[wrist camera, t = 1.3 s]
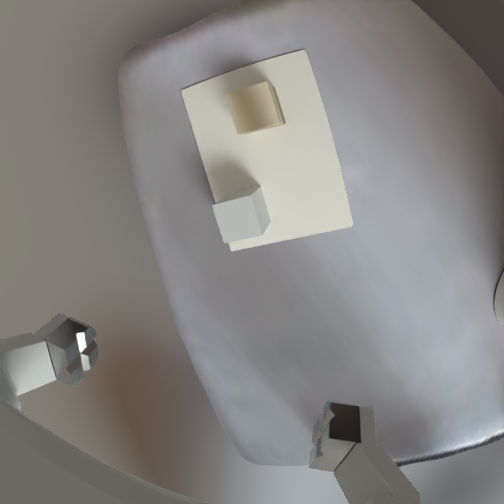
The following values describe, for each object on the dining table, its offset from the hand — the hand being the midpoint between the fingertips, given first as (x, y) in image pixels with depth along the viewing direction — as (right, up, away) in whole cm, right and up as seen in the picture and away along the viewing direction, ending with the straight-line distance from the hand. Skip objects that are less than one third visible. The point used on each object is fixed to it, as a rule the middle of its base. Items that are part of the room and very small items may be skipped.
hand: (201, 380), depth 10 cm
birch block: (+3, +20, +25) cm, 33 cm away
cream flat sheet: (+3, +16, +27) cm, 32 cm away
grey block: (+1, +9, +30) cm, 31 cm away
